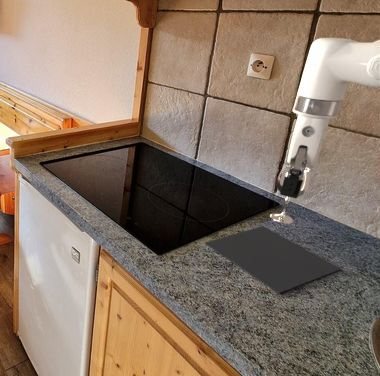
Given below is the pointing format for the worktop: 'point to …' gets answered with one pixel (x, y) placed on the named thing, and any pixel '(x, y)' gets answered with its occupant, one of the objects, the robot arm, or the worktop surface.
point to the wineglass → (282, 217)
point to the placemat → (272, 258)
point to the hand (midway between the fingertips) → (290, 189)
